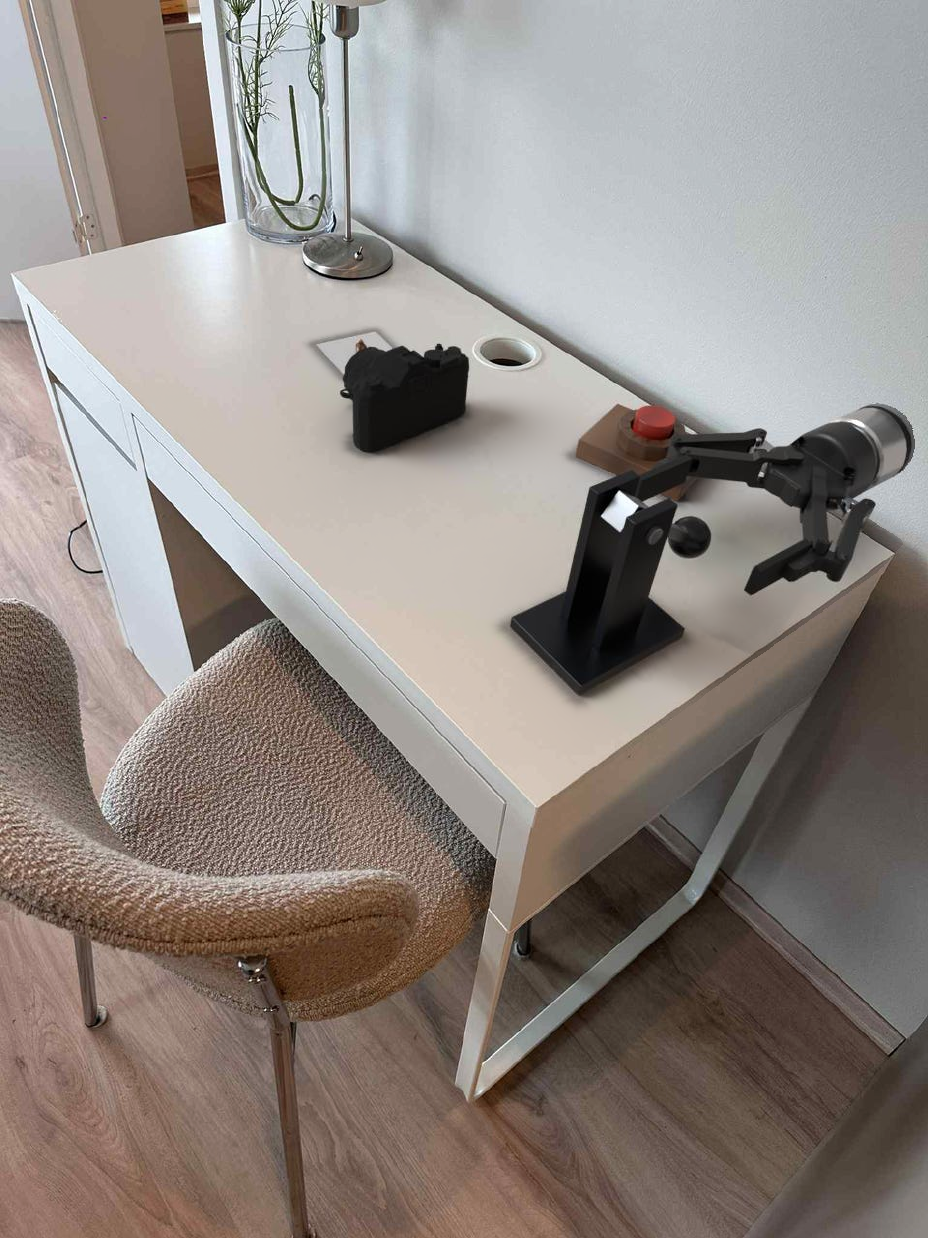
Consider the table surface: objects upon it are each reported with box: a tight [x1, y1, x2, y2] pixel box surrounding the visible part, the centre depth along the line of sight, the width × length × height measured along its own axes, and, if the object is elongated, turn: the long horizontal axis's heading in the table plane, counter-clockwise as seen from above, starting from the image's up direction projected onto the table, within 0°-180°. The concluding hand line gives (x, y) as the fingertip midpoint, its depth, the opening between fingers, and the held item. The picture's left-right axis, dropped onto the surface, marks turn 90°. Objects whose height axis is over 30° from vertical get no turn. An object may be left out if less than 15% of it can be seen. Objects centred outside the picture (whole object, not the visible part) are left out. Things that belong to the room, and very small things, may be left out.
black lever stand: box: [509, 470, 686, 696], centre depth 71 cm, size 12×9×15 cm
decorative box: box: [315, 331, 394, 375], centre depth 104 cm, size 8×8×2 cm
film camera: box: [339, 343, 470, 453], centre depth 93 cm, size 15×10×9 cm, turn 130°
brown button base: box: [575, 403, 699, 502], centre depth 93 cm, size 12×9×4 cm
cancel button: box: [633, 405, 676, 441], centre depth 91 cm, size 4×4×2 cm
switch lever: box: [601, 490, 712, 560], centre depth 71 cm, size 14×4×4 cm
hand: (690, 533), depth 75 cm, fingers open, 13 cm apart
